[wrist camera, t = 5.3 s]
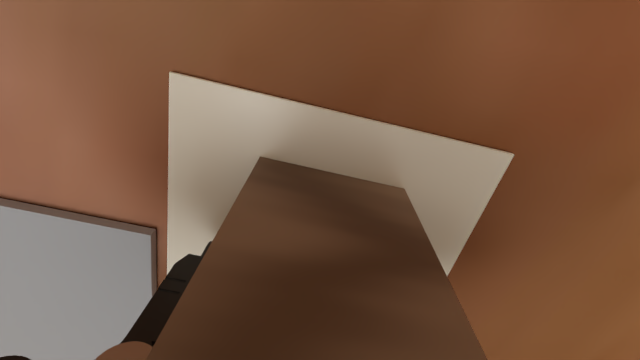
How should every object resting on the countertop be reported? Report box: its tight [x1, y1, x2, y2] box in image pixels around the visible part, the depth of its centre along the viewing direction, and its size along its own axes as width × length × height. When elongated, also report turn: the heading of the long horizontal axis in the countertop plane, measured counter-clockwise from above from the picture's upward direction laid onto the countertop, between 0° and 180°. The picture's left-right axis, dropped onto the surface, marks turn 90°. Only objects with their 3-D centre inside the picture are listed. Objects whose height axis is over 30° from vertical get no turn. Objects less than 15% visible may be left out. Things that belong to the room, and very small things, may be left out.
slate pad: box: [0, 198, 157, 360], centre depth 14 cm, size 10×12×1 cm
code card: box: [167, 71, 514, 276], centre depth 12 cm, size 11×11×1 cm
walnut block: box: [146, 157, 487, 360], centre depth 8 cm, size 5×7×8 cm
